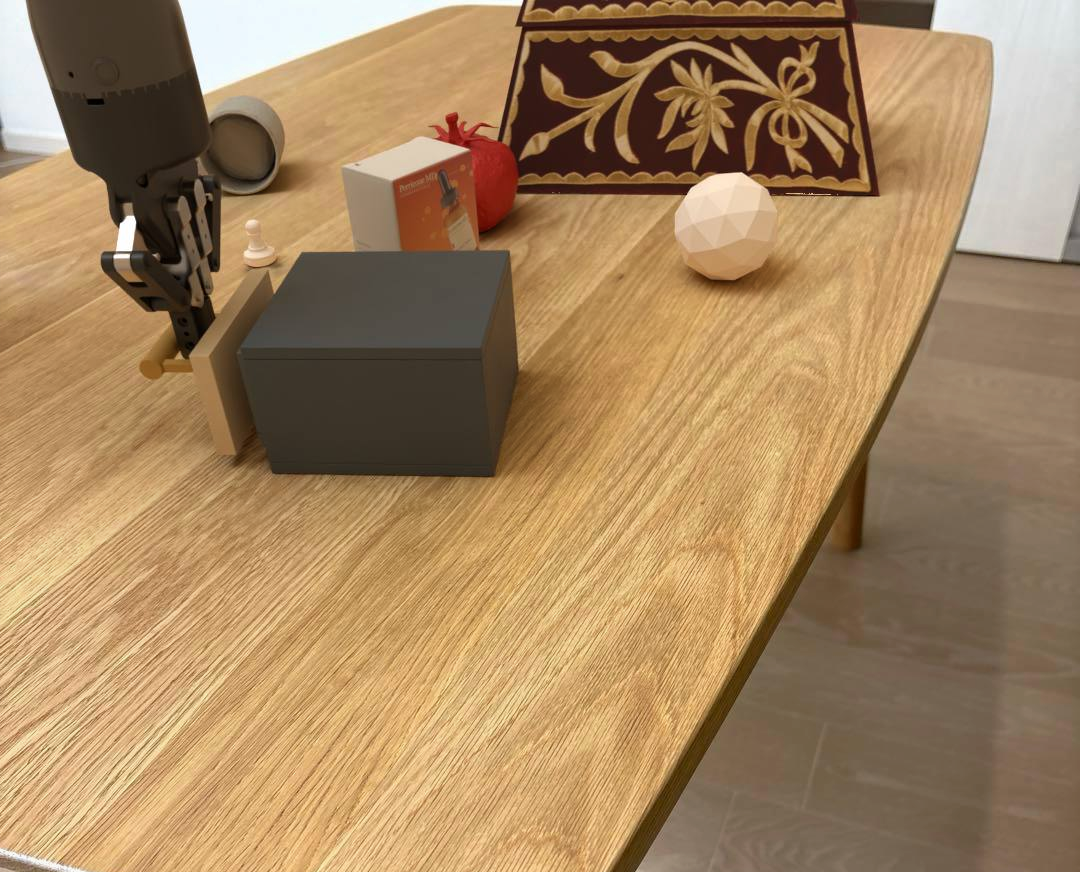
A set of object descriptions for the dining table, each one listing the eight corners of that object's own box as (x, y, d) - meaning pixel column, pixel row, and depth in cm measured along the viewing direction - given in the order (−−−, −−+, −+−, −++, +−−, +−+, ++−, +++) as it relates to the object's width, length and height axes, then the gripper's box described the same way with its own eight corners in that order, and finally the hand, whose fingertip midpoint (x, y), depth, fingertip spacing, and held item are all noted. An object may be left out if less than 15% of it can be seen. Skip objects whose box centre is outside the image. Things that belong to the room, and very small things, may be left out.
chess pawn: (253, 270, 88) (243, 229, 85) (240, 260, 89) (230, 220, 87) (281, 261, 89) (272, 220, 87) (268, 251, 90) (259, 211, 88)
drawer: (147, 454, 65) (113, 355, 61) (210, 361, 74) (184, 269, 70) (419, 457, 63) (404, 356, 59) (451, 361, 72) (439, 267, 68)
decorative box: (864, 122, 107) (895, -111, 95) (879, 196, 93) (918, -69, 80) (522, 123, 113) (508, -97, 100) (485, 192, 98) (464, -55, 86)
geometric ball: (715, 318, 83) (673, 260, 76) (687, 245, 87) (645, 184, 80) (806, 269, 80) (771, 205, 74) (773, 196, 84) (737, 130, 78)
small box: (409, 322, 79) (389, 181, 72) (361, 301, 82) (337, 165, 75) (486, 283, 83) (473, 147, 77) (437, 265, 86) (421, 133, 80)
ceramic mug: (293, 161, 108) (276, 81, 103) (288, 190, 101) (269, 107, 96) (187, 173, 107) (165, 93, 102) (175, 203, 101) (151, 120, 96)
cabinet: (271, 473, 65) (238, 347, 59) (325, 368, 74) (301, 251, 69) (494, 477, 63) (481, 347, 58) (519, 369, 73) (509, 249, 67)
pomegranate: (533, 200, 96) (526, 93, 90) (505, 246, 89) (496, 132, 83) (428, 196, 98) (415, 91, 92) (392, 241, 91) (376, 129, 85)
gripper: (105, 34, 62) (184, 307, 73) (-8, 106, 52) (103, 411, 63) (229, 30, 61) (290, 307, 72) (139, 102, 51) (226, 412, 62)
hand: (203, 355), depth 67 cm, fingers closed
